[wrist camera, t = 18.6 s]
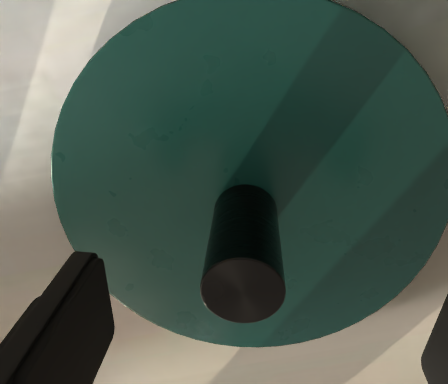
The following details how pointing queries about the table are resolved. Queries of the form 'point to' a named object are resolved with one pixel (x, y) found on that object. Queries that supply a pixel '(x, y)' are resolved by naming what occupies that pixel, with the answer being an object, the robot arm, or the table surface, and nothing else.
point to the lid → (253, 168)
